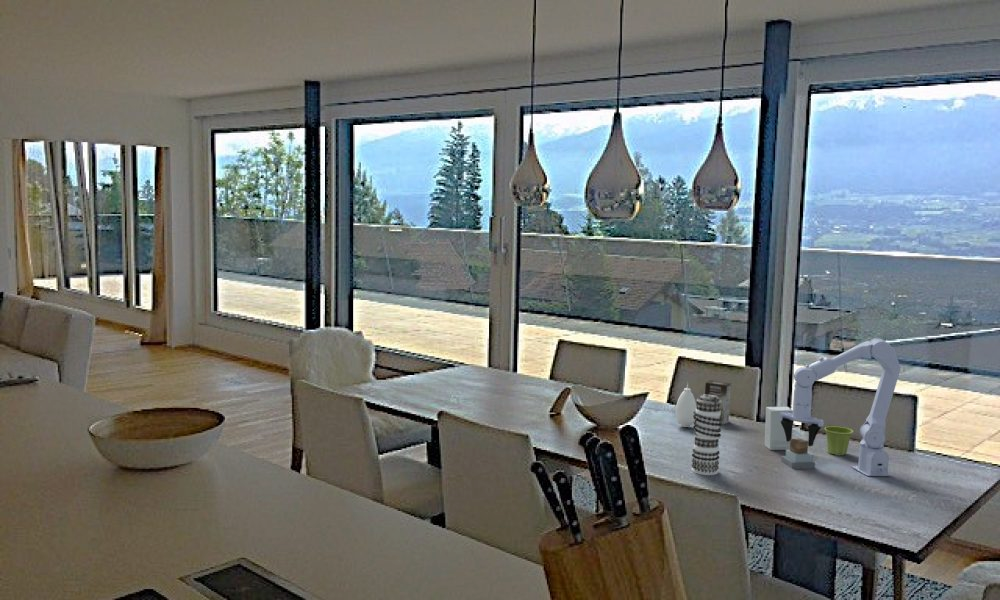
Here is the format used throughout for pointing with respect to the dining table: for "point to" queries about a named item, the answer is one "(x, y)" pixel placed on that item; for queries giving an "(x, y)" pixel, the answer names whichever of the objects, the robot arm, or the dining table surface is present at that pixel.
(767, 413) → the skincare box
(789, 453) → the top slab
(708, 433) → the decorative candle
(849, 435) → the plant pot
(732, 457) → the dining table surface
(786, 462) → the base slab
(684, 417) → the sauce bottle
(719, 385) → the coffee box
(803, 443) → the walnut cube
